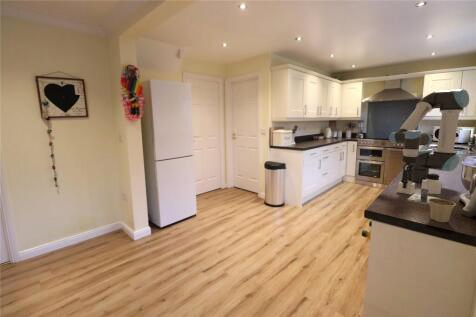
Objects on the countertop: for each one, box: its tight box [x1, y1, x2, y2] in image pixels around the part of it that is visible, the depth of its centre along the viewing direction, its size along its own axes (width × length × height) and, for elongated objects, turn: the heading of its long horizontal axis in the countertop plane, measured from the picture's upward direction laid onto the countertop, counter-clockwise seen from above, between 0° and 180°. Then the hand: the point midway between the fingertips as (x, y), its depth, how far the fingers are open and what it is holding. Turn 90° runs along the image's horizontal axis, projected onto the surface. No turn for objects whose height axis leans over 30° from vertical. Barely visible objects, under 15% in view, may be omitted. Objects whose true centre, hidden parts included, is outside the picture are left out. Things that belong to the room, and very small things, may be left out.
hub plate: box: [406, 189, 442, 207], centre depth 130 cm, size 16×12×6 cm
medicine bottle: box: [420, 172, 443, 195], centre depth 145 cm, size 7×7×12 cm
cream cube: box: [397, 181, 416, 196], centre depth 145 cm, size 7×7×7 cm
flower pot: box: [428, 197, 457, 223], centre depth 105 cm, size 9×9×9 cm
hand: (405, 191), depth 145 cm, fingers closed on cream cube, 7 cm apart
